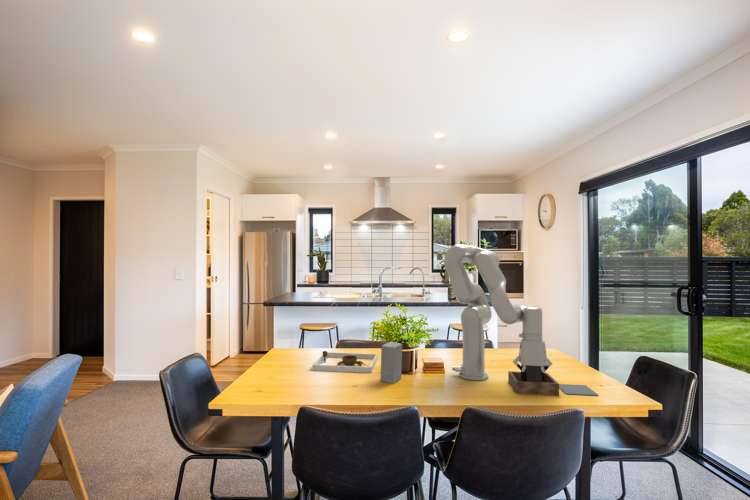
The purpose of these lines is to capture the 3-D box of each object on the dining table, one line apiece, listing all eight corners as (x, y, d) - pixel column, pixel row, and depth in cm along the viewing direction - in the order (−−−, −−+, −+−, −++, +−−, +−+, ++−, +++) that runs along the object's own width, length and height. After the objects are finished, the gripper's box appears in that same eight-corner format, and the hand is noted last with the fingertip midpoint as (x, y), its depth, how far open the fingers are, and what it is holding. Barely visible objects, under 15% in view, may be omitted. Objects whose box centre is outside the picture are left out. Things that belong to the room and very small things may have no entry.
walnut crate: (516, 393, 156) (516, 381, 156) (508, 381, 171) (508, 371, 171) (559, 395, 154) (559, 383, 154) (547, 383, 169) (547, 372, 169)
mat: (565, 394, 155) (565, 393, 155) (555, 384, 167) (555, 383, 167) (598, 396, 154) (598, 394, 154) (585, 386, 166) (585, 385, 166)
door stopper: (543, 392, 158) (543, 361, 158) (527, 391, 159) (527, 361, 159) (537, 385, 167) (537, 356, 167) (522, 384, 167) (522, 355, 168)
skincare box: (388, 376, 177) (389, 341, 177) (403, 379, 173) (403, 342, 174) (379, 381, 170) (379, 344, 170) (394, 384, 166) (394, 346, 166)
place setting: (339, 372, 185) (339, 359, 185) (320, 363, 201) (320, 351, 201) (370, 367, 195) (370, 355, 195) (349, 358, 211) (349, 347, 211)
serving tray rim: (312, 370, 186) (312, 365, 186) (325, 356, 212) (325, 352, 212) (371, 372, 183) (371, 367, 183) (377, 358, 209) (377, 354, 209)
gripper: (512, 338, 160) (512, 383, 160) (557, 339, 158) (557, 385, 158) (508, 334, 168) (508, 377, 167) (551, 335, 166) (551, 379, 165)
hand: (532, 380), depth 163 cm, fingers closed on door stopper, 6 cm apart
